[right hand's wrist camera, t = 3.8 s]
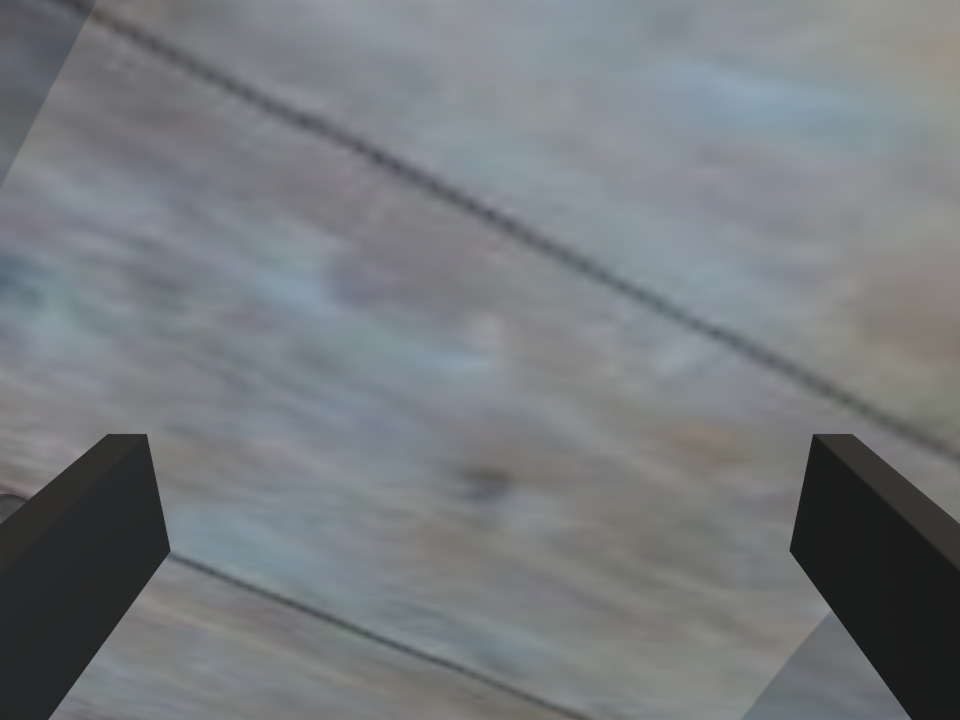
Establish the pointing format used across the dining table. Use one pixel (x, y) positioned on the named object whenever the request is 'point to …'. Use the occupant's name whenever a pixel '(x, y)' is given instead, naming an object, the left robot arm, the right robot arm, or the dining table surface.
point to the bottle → (9, 505)
